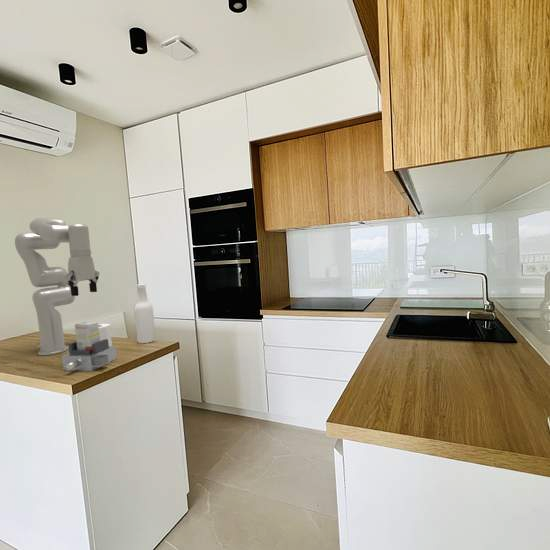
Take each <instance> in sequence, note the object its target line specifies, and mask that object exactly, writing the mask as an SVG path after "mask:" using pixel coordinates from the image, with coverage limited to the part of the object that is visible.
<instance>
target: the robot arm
mask: <svg viewBox="0 0 550 550" xmlns="http://www.w3.org/2000/svg"><path fill="white" fill-rule="evenodd" d="M29 230H30V231H31V232H29V231H28V232H22V233H21V232H20V233H19V234H17V235H16V236H15V238H14V245H15V249H16V252H17V253H18V256H19V257H20V259H21V260H22V261H23V263H24V265H25V268H26V271H27V274H28V277H29V281H30V283H31V284H32V286H33V287H35V288H41V289H38V290H36V291H34V292H33V293H32V295H31V296H32V302H33V305H34V309H35V312H36V316H37V324H38V330H39V332H38V333H39V337H40V339H39V340H40V343H39V344H38V345H36V349H37V348H38V349H40V350H39V351H38V352H37V354H38V355H39V356H51V355H57V354H60V353H64V352H66V351H69V346H68V345H66V343H65V338H64V327H63V320H62V314H61V313H60V311H59V310H58V309H56V308H55V307H60V306H61V307H62V306H65V305H70V304H72V303H74V302H75V300H76V297H77V296H79V286H78V283H79V282H83V281H88V282H89V283H88V285H89V292H90V293H97V292H98V288H97V283H98V280H99V276H100V271H97V270H96V269H95V263H94V260H93V259H94V258H93V257H92V250H91V243H90V242H91V241H90V232H89V227H88V226H87V224H79V223H78V224H75V223H73V224H66V222H65V221H64V220H63V219H61V218H47V217H46V218H45V217H38V218H35V219H33V220H32V221H30V223H29ZM63 243H68V245H69V255H70V257H69V258H68V263H67V264H68V265H67V270H66V269H65V268H64V267H63V266H52V267H51V266H49V265H48V264H47V260H46V258H45V257H44V255H42V254H41V253H40V252H37V251H36V250H53V249H56V248H58V247H59V246H60V245H61V244H63Z"/></svg>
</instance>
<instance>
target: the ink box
mask: <svg viewBox="0 0 550 550" xmlns="http://www.w3.org/2000/svg"><path fill="white" fill-rule="evenodd" d="M98 324H99V322H93V321H92V322H91V321H90V322H89V321H84V322H79V323H75V324H74V329H75V330H74V333H75V339H76V340H75V341H77V350H92V352H93V345H92V344H94V343H96V342H99V341H100V335H99V326H98Z"/></svg>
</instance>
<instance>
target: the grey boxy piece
mask: <svg viewBox="0 0 550 550" xmlns="http://www.w3.org/2000/svg"><path fill="white" fill-rule="evenodd" d="M92 345H93V352H92V350H77V341H76V340H75V341H73V342H70V343H68V345H67V346H69V349H68V353H66V354H62V355H61V360H62V361H61V362H62V369H63V371H67V372H68V371H74V372H75V371H76V372H77V370H78V372H94V371H96V370H97V369H100V368H101V367H103V366H105V364H106V365H107V364H109V363H112V362H113V360H114V361H115V359H116V360H117V359H118V358H117V352H116V350H117V348H116V345H112V346H109V344H108V339H104V340H101V341H99V342H96V343H94V344H92ZM111 361H112V362H111Z"/></svg>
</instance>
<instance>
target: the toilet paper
mask: <svg viewBox="0 0 550 550" xmlns="http://www.w3.org/2000/svg"><path fill="white" fill-rule="evenodd" d="M98 326H99V335H100V341H101V340H104V339H108V344H109V346H113V341H112V332H111V325H110V323H100V324H99V323H98Z"/></svg>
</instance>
